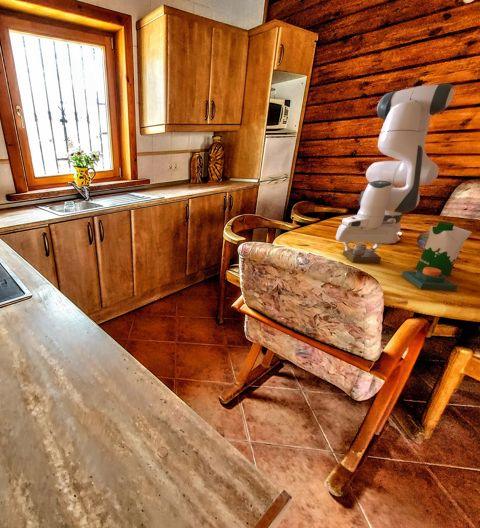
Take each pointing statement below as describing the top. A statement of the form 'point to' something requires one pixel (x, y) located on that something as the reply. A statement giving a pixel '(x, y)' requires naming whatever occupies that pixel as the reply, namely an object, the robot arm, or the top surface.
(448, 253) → the milk carton
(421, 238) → the tin
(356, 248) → the knob
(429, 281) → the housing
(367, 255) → the panel
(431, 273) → the button
